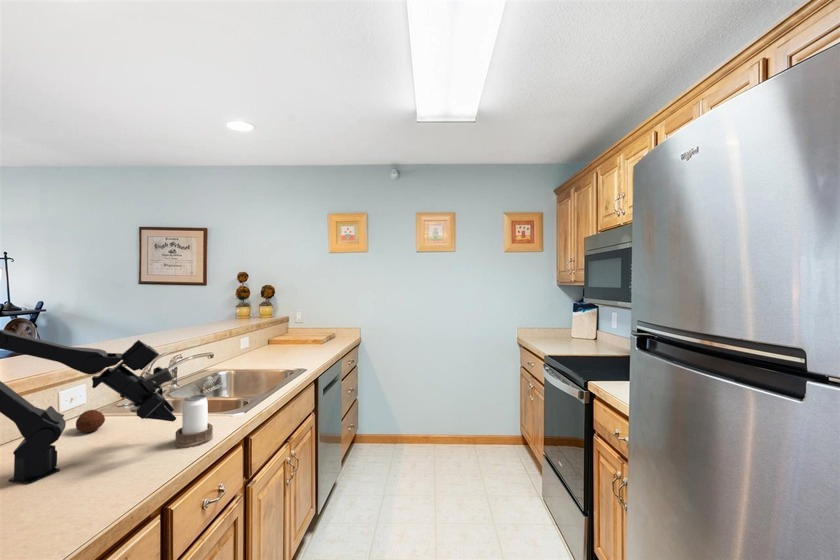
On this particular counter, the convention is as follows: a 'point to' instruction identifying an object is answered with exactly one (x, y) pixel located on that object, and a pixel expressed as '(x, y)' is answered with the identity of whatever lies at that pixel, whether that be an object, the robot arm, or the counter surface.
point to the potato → (90, 421)
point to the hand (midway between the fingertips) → (173, 415)
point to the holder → (193, 437)
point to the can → (194, 414)
